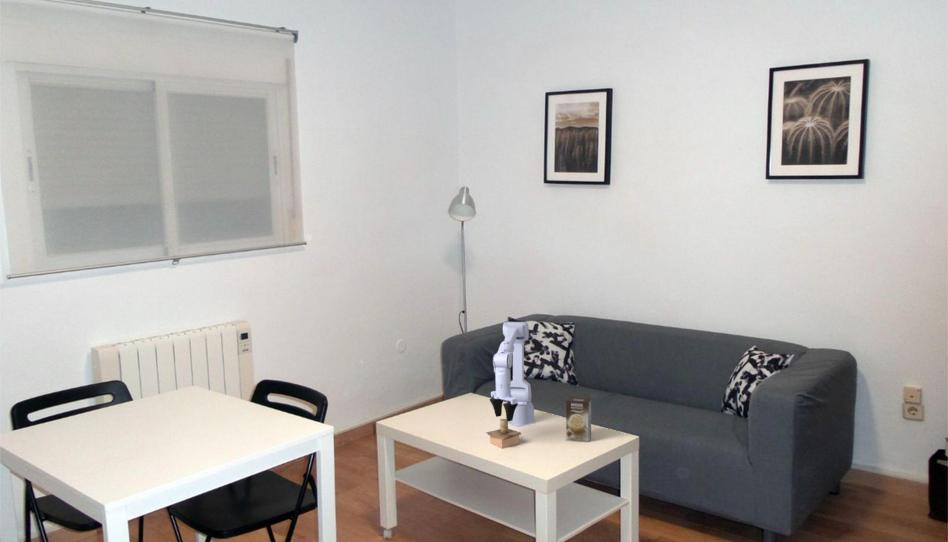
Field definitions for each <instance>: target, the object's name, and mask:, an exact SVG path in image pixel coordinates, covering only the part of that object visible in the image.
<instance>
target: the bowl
mask: <svg viewBox="0 0 948 542" xmlns="http://www.w3.org/2000/svg"><path fill="white" fill-rule="evenodd" d="M489 437H490V438H489V441H490V442H489V443H490V444H491V445H493V446H495V447H498V448H500V449H502V450H503V449H506V448H510V447H514V446H517V445H520V435H518V436H515V437H512V438H508V439H505V440H502V439H499V438H496V437H493V436H490V435H489Z"/></svg>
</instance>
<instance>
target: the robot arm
mask: <svg viewBox="0 0 948 542" xmlns="http://www.w3.org/2000/svg"><path fill="white" fill-rule="evenodd" d="M529 331H530V330H529V323H528V322H527V321H506V320H505V321H504V322H503V324H502V335H503V336H504V340H503V341H502V342H501V343H500V345H499V347H498V350H497V352H496V353H495V354H493V357H492V365H493V373H494V375H495V390H493V391H490V397H491V398H489V401H490V403H491V405H492V407H493V411H494V414H495V417H497V418H499V417H501V416H502V415H503V414H502V412H503V408H504V411H505V417H506V418H505V419H507V421H508V425H511V426H514V427H516V428H520V427H525V426H528V425H533V424H536V421H535V407H534V405H533V403H532V402H531V401H532V388H531V387H532V386H531V384H530V383H529V382H528V381H527V380H525V351H524V350H525V348H524V347H525V342H527V341H528V340H529V338H530V337H529V334H530V333H529ZM511 368H512V380H511ZM504 402H506V403H504Z"/></svg>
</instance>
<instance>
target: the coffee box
mask: <svg viewBox="0 0 948 542" xmlns="http://www.w3.org/2000/svg"><path fill="white" fill-rule="evenodd" d="M565 414H566V415H565V419H566V420H565V421H566V422H565V424H566V425H565V427H566V431H565V432H566V433H565V435H566V438H565V439H566V440H565V441H573V442H582V443H589V442H590V441H591V439H592V398H591V397H583V396H582V397H581V396H580V397H579V396H568V397H567V399H566V400H565Z"/></svg>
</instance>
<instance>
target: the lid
mask: <svg viewBox="0 0 948 542" xmlns="http://www.w3.org/2000/svg"><path fill="white" fill-rule="evenodd" d="M508 422H509V421H507V419H506V418H500V420H499V428H498V429H495V430H491V431H492V432H490V431H488V432H489V433H488V434H487V435H488V436H489V437H490V436H493V437H496V438H499V439H502V440H505V439H508V438H512V437H515V436H518V435H519V436H521V435H522V433H521V432H520V431H517V430H514V429H510V428H509V424H508Z"/></svg>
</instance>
